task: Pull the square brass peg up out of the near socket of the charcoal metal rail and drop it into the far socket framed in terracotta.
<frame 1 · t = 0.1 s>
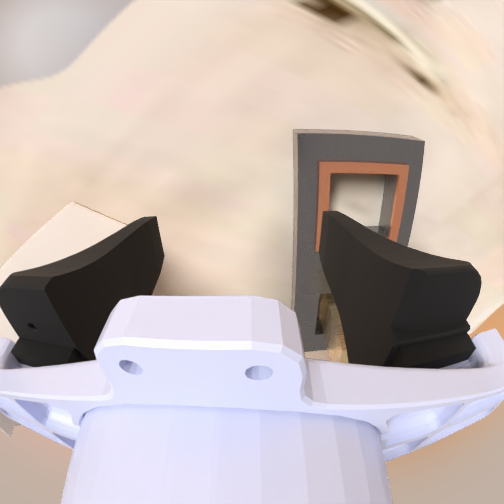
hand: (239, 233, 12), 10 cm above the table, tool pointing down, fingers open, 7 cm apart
brass peg: (339, 299, 28), resting in socket rail
milk carton: (98, 243, 24), on the table
socket rail: (347, 254, 25), on the table
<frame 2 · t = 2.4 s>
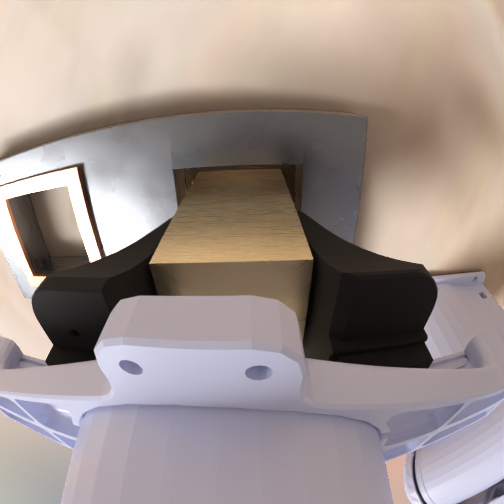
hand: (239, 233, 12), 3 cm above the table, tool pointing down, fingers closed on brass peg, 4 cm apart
brass peg: (241, 206, 14), resting in socket rail, touching gripper
socket rail: (140, 212, 15), on the table
when the fingers open (4 cm above the table, at t = 7.3 s): brass peg drops 1 cm, resting in socket rail.
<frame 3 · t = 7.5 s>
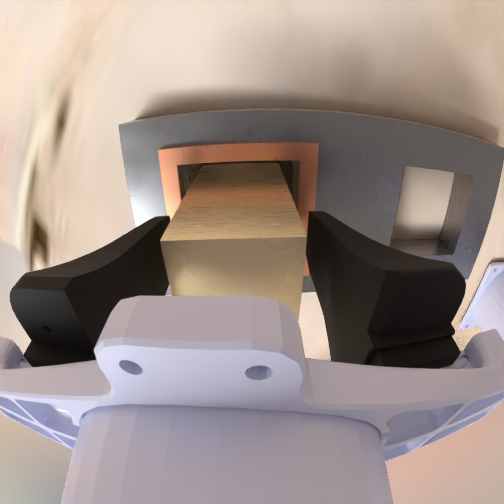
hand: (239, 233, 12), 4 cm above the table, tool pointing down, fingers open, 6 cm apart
brass peg: (241, 198, 15), resting in socket rail
socket rail: (339, 199, 15), on the table
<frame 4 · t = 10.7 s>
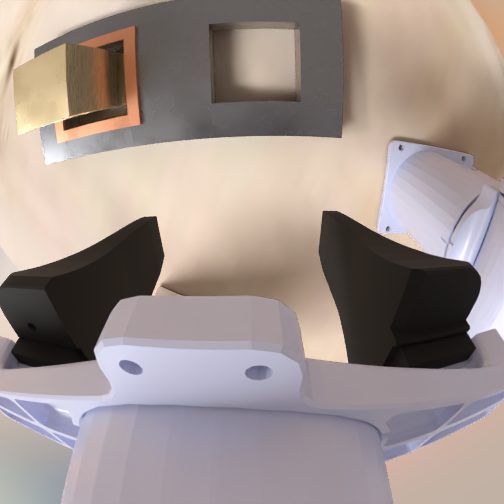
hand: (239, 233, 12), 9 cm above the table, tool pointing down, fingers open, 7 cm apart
brass peg: (105, 84, 16), resting in socket rail
socket rail: (174, 70, 16), on the table
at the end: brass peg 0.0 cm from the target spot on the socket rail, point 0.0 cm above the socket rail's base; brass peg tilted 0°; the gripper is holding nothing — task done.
